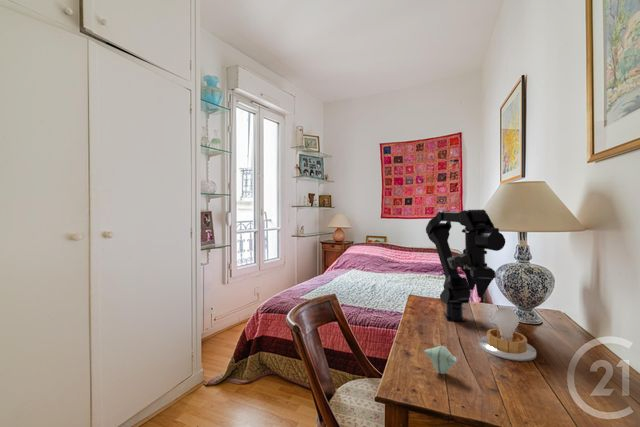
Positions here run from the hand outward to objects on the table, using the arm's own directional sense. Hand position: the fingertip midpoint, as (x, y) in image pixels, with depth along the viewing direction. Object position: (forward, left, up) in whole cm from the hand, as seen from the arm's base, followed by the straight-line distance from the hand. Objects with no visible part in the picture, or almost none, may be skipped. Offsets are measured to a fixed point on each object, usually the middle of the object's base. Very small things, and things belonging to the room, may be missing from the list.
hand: (475, 293), depth 96 cm
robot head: (+28, -16, -13) cm, 35 cm away
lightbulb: (+11, +5, -12) cm, 17 cm away
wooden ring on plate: (+11, +5, -13) cm, 18 cm away
